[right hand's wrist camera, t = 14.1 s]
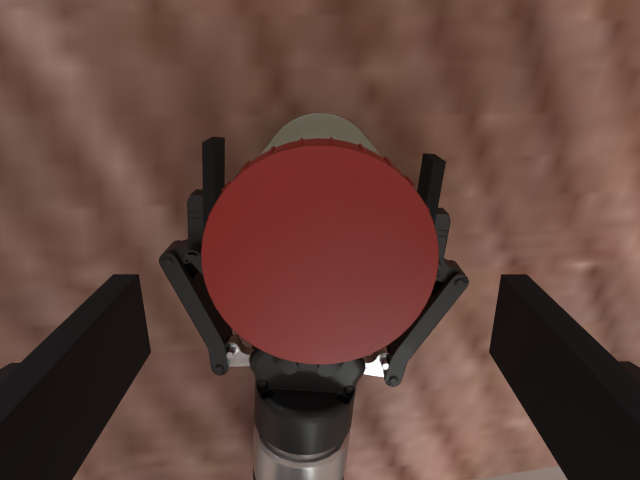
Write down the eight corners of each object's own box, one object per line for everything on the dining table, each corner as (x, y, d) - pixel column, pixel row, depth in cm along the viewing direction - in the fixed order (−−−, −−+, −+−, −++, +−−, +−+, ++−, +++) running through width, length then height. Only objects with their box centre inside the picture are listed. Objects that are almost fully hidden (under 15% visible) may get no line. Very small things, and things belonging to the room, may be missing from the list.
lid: (170, 191, 18) (153, 204, 16) (383, 96, 17) (392, 99, 15) (268, 366, 21) (263, 394, 19) (456, 296, 20) (470, 319, 18)
